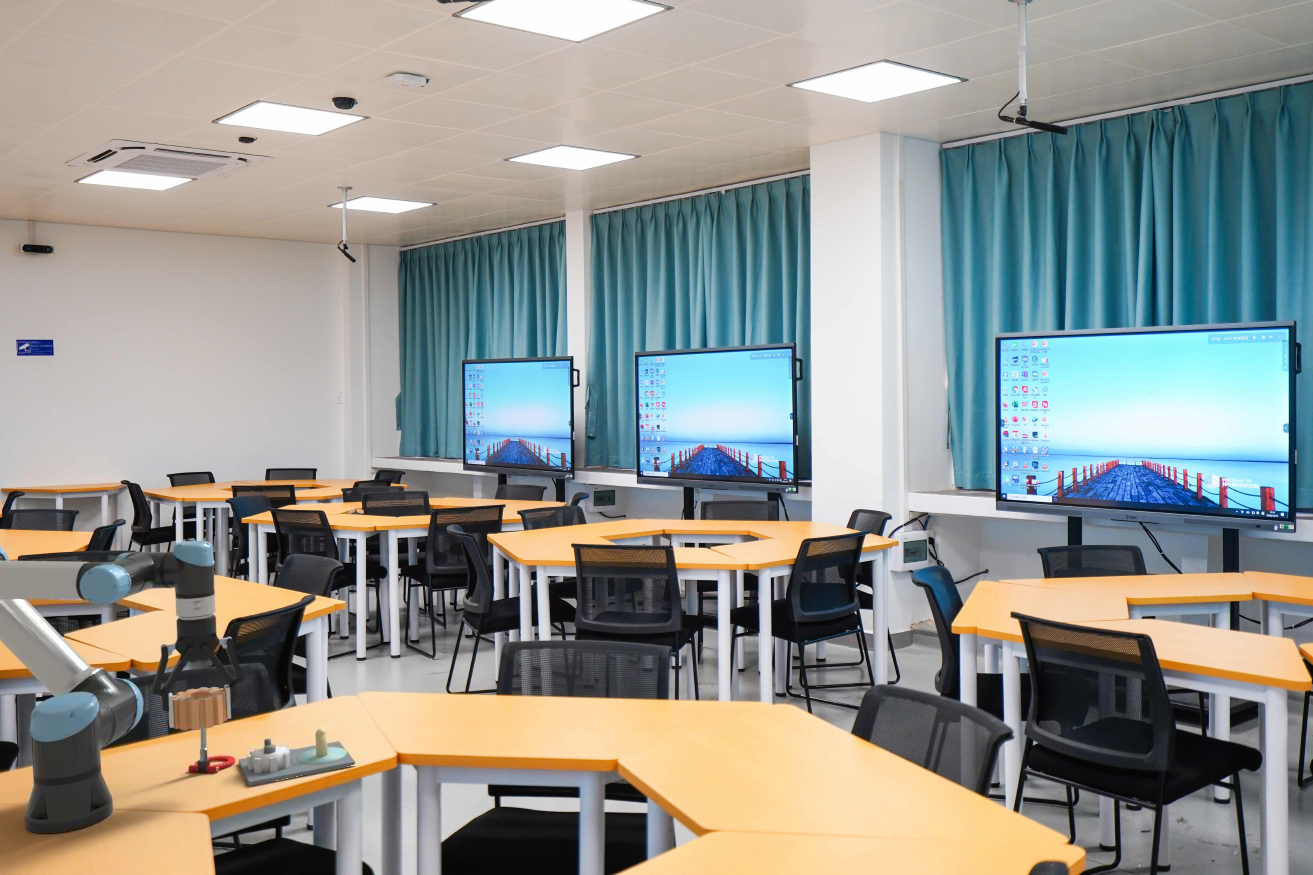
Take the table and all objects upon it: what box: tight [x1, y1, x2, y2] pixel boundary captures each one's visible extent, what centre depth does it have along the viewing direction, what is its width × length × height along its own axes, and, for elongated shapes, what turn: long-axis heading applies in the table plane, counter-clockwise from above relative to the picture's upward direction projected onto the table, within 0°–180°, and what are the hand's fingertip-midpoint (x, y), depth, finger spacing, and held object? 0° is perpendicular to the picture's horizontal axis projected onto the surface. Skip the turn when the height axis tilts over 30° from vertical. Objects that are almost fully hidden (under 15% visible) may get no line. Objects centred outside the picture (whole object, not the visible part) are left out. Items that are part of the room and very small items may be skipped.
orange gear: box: [172, 686, 228, 731], centre depth 217 cm, size 10×10×6 cm
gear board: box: [238, 728, 356, 787], centre depth 232 cm, size 22×16×7 cm
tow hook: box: [187, 728, 236, 774], centre depth 233 cm, size 8×13×9 cm
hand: (200, 721), depth 218 cm, fingers closed on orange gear, 10 cm apart
